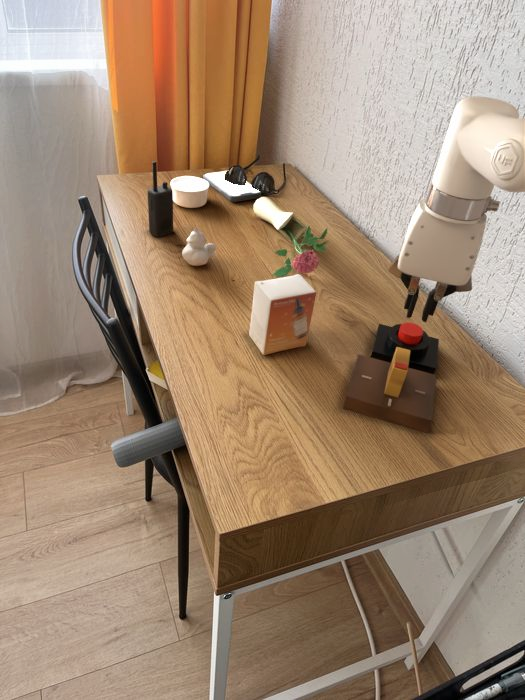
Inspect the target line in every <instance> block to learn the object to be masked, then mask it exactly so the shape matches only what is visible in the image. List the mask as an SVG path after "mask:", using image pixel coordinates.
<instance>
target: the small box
mask: <svg viewBox="0 0 525 700" xmlns="http://www.w3.org/2000/svg"><path fill="white" fill-rule="evenodd" d="M316 297H317V292H316V290H315V289H314V287H312V286H311V285H310V284H309V282H308V281H307V280H306V279H305V278H304V277H303V275H301V273H298V274H294V275H289V276H282V277H278V278H272V279H271V278H270V279H264V280H257V281H255V282H254V286H253V297H252V305H251V316H250V324H249V333H248V335H249V337H250V338H251V340H252V341H253V343H254V344H255V345H256V347H257V348H258V350H259V352H261V354H262V355H263V356H266V355H270V354H273V353H277V352H282V351H287V350H290V349H291V350H292V349H295V348H302V347H306V345H307V342H308V338H309V332H310V327H311V323H312V317H313V311H314V306H315V302H316Z"/></svg>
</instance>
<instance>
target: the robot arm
mask: <svg viewBox="0 0 525 700" xmlns="http://www.w3.org/2000/svg"><path fill="white" fill-rule="evenodd" d="M451 114H452V115H451V118H450V121H449V124H448V128H447V131H446V134H445V138H444V141H443V144H442V147H441V151H440V154H439V157H438V160H437V163H436V166H435V169H434V173H433V176H432V179H431V183H430V186H429V190H428V192H427V196H426V199H422V200H420V201H419V202H418V204H417V206H416V208H415V210H414V212H413V214H412V216H411V219H410V222H409V224H408V227H407V229H406V232H405V234H404V238H403V241H402V244H401V247H400V250H399V253H398V254H397V255H396V257H395V258H394V259H393V260H392V262H390V264H389V266H388V273H390V274H391V275H393V276H394V277H396V278H397V279H399V280H400V281H401V282H402V284H403V286H404V287H405V289H406V290H407V296H406V298H405V302H404V305H403V309H404V310H407V311H406V315H405V316H406V318H407V319H410V318H412V316H413V314H414V311H415V308H416V305H417V302H418V299H419V294H420V285H419V284H420V281H421V279H424V280H428V281H431V282H432V281H433V282H436V283H435V286H434V288H432V289H431V290H430V291H429V292H428V294H427V298H426V301H425V304H424V307H423V310H422V315H421V321H422V322H424V323H427V321H428V319H429V316H431V317H433V316H434V314H435V312H436V309H437V307H438V304H439V302H441V301H442V300H443V299H445V298H446V297H448V296H450V295H453V294H455V293H466V292H467V293H468V292H471V291H472V290H473V277H472V276H473V275H472V274H473V271H474V268H475V266H476V263H477V259H478V255H479V253H480V249H481V246H482V242H483V238H484V234H485V230H486V226H487V218H488V216H487V213H488V212H491V211H492V212H495V213H496V212H498V210H499V208H500V204H501V203H500V202H501V201H499V200H496V199H494V198H492V197H493V196H492V192H493V190H494V187H497V188H499V189H501V190H503V191H506V192H509V193H525V118H524V117H523V118H520V113H519V110H518V108H516V106H514V105H513V104H511V103H509V102H507V101H505V100H501V99H497V98H492V97H487V96H468V97H465V98H462V99H461V100H460V101H458V103H457V104H456V106H455V107H454V109H453V112H452V113H451Z"/></svg>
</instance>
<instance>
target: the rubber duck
mask: <svg viewBox="0 0 525 700" xmlns="http://www.w3.org/2000/svg"><path fill="white" fill-rule="evenodd" d="M185 241H186V242H187V244H186V245H185V247H184V248H183V249H182V252H181V255H182V258H183V259H184V261H185V262H186V263H187V264H189V265H190V266H193V267H194V266H195V267H199V266H204V265H207V263H208V261H209V260H210V259H212V258H215V256H216V250H217V245H216V244H215V243H212V242H211V243H207V237H206V236H205V234H204V233H203V232H202V231H201V230H199V228H197V226H196V225H195V226H194V229H193V230H192V231H191V232H190V234H189V236H188V237H187V238H186V240H185ZM206 243H207V244H206Z"/></svg>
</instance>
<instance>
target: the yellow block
mask: <svg viewBox="0 0 525 700" xmlns="http://www.w3.org/2000/svg"><path fill="white" fill-rule="evenodd" d="M409 358H410V350H407V349H404V348H400V347H396V350H395V353H394V356H393V359H392V362H391V365H390V368H389V371H388V376H387V381H386V387H385V392H384V394H386V395H390V396H393V397H397V398H398V397H399V394H400V391H401V388H402V386H403V383H404V380H405V377H406V375H407V372H408V365H409Z"/></svg>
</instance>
